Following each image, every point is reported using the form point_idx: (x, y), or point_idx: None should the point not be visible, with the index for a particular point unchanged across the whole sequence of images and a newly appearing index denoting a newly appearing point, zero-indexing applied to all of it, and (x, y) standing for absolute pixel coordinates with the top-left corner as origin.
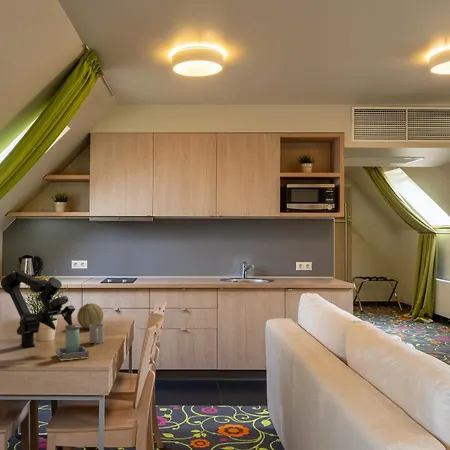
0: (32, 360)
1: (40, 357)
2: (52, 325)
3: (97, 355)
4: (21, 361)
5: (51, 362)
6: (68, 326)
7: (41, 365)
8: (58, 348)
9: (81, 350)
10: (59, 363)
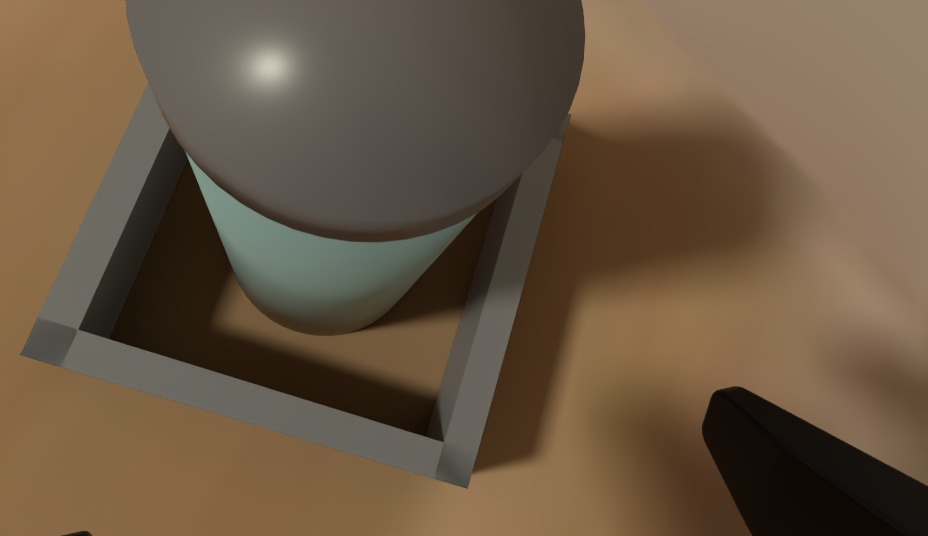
0: None
1: (645, 509)
2: (851, 456)
3: (18, 58)
4: None
5: (628, 194)
6: (508, 28)
7: (746, 164)
8: (437, 476)
9: (104, 319)
10: (579, 94)
